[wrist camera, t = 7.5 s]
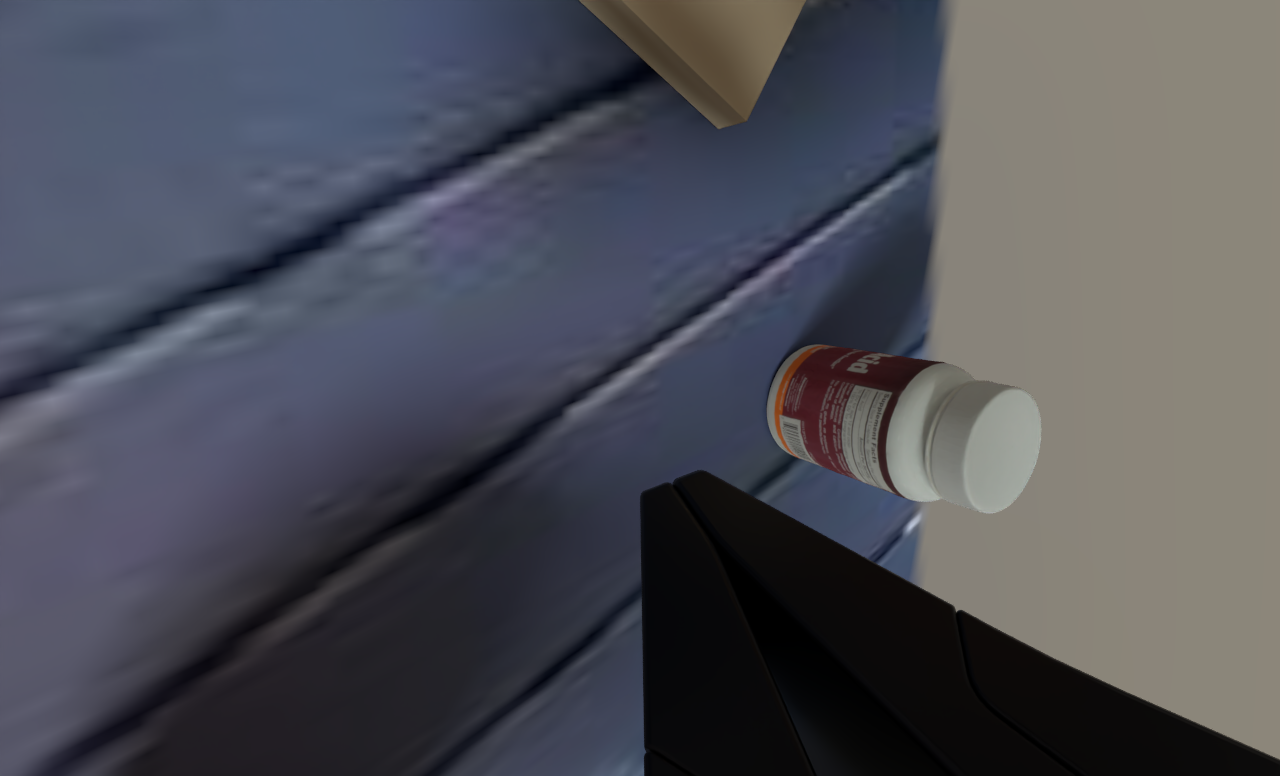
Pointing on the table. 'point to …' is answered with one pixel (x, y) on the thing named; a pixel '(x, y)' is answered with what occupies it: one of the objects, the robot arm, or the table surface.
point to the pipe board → (706, 46)
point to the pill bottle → (906, 425)
